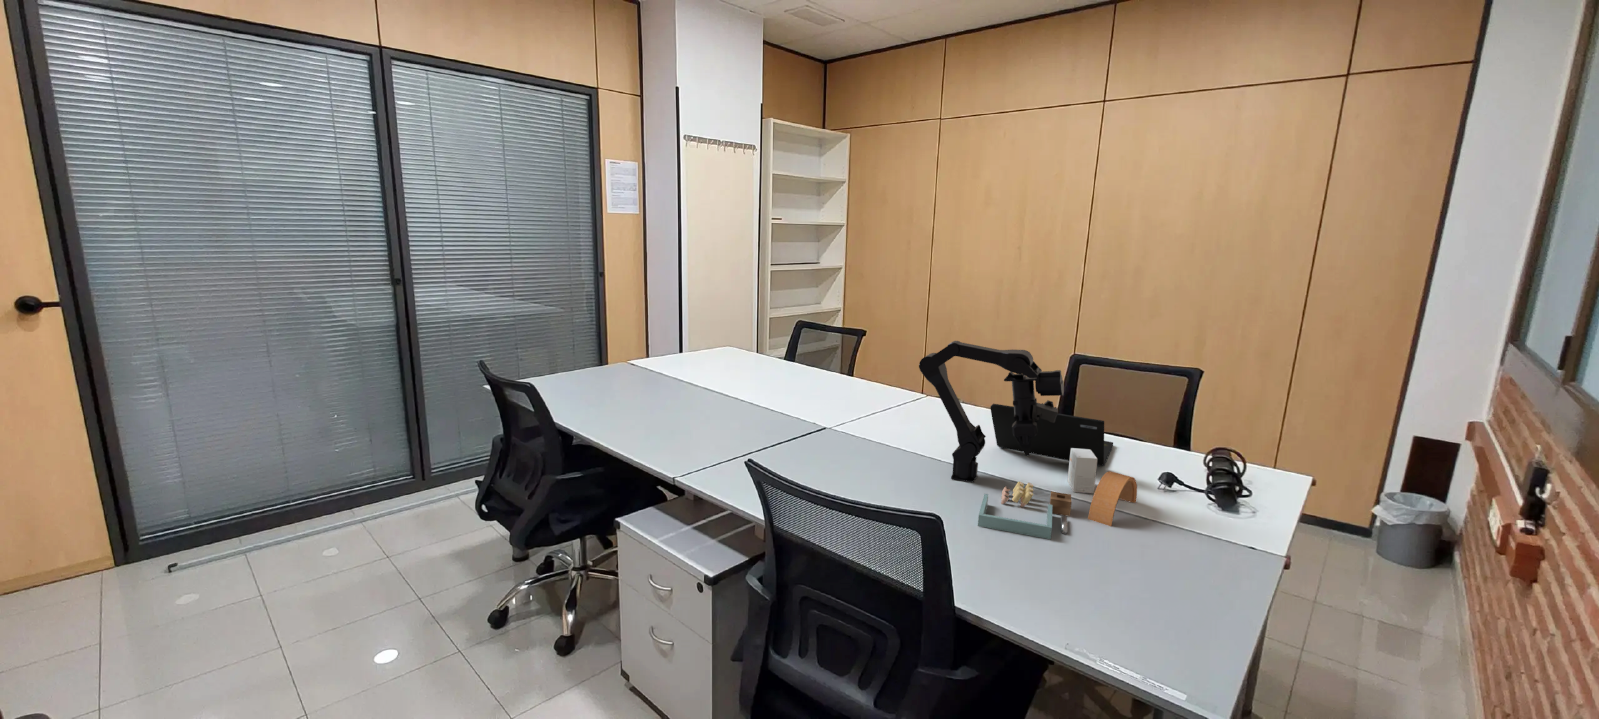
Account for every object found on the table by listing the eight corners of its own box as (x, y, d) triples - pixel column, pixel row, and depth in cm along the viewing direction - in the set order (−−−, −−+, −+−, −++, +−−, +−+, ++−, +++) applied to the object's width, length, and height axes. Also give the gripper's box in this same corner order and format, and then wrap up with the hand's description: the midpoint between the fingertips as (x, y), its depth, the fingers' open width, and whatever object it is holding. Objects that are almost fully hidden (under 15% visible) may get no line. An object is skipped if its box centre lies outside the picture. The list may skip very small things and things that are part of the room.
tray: (977, 525, 158) (978, 514, 158) (983, 504, 171) (984, 493, 170) (1050, 539, 152) (1051, 527, 152) (1051, 515, 165) (1052, 504, 164)
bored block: (1049, 512, 166) (1050, 498, 165) (1049, 505, 171) (1051, 491, 170) (1069, 516, 164) (1071, 502, 163) (1069, 508, 169) (1071, 494, 168)
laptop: (1113, 447, 216) (1120, 392, 212) (1097, 484, 185) (1105, 421, 181) (1014, 429, 234) (1019, 378, 230) (984, 460, 203) (988, 402, 199)
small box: (1093, 494, 178) (1098, 458, 176) (1072, 492, 179) (1076, 457, 177) (1087, 482, 186) (1091, 449, 183) (1066, 481, 187) (1070, 447, 184)
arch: (1087, 519, 163) (1091, 483, 161) (1114, 496, 177) (1118, 462, 175) (1110, 527, 159) (1115, 490, 157) (1136, 502, 173) (1141, 468, 171)
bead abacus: (1033, 482, 174) (1003, 478, 176) (1033, 493, 167) (1001, 488, 170) (1032, 498, 175) (1001, 494, 177) (1032, 510, 168) (1000, 505, 171)
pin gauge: (1060, 533, 155) (1061, 528, 155) (1060, 519, 162) (1061, 514, 162) (1067, 534, 155) (1067, 529, 154) (1066, 520, 162) (1067, 515, 162)
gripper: (1054, 403, 164) (1059, 460, 166) (1055, 387, 181) (1059, 439, 183) (1009, 404, 168) (1014, 461, 171) (1014, 389, 185) (1018, 440, 188)
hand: (1028, 450), depth 178 cm, fingers open, 9 cm apart
